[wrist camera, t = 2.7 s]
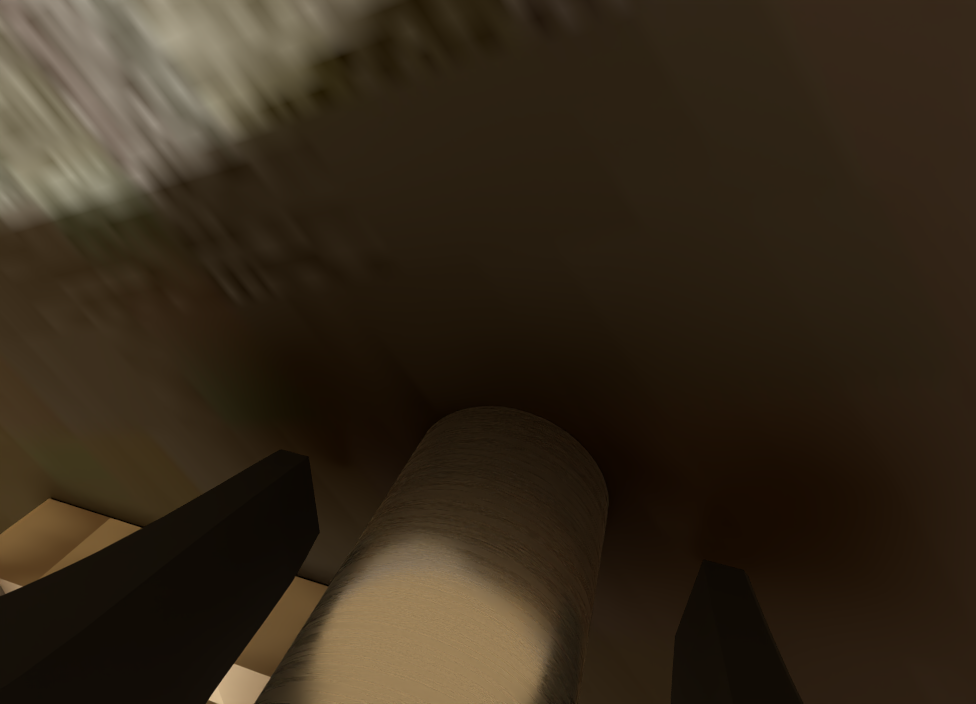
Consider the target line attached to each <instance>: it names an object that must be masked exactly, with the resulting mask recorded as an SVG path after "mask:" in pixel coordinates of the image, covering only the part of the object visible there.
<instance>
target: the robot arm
mask: <svg viewBox="0 0 976 704" xmlns="http://www.w3.org/2000/svg"><path fill="white" fill-rule="evenodd" d="M319 532H320V531H319V524H318V517H317V510H316V504H315V497H314V490H313V483H312V476H311V469H310V463H309V457H308V456H304V455H300V454H296V453H292V452H289V451H285V450H279V451H277V452H275V453H273V454H272V455H270V456H268V457H266V458H264V459H263V460H261V461H259V462H257V463H256V464H254V465H252V466H250V467H249V468H247V469H245V470H244V471H242V472H240V473H238V474H237V475H235V476H233V477H232V478H230V479H228V480H227V481H225V482H223V483H221V484H220V485H218V486H216V487H215V488H213V489H211V490H209V491H208V492H206V493H204V494H202V495H201V496H199V497H197V498H195V499H194V500H192V501H190V502H188V503H187V504H185V505H183V506H181V507H180V508H178V509H176V510H174V511H173V512H171V513H169V514H167V515H166V516H164V517H162V518H160V519H158V520H156V521H155V522H153V523H151V524H149V525H147V526H145V527H143V528H141V529H139V530H137V531H136V532H134V533H132V534H130V535H128V536H126V537H124V538H122V539H120V540H119V541H117V542H115V543H113V544H111V545H109V546H107V547H105V548H103V549H101V550H100V551H98V552H96V553H94V554H92V555H90V556H88V557H85V558H83V559H81V560H79V561H77V562H75V563H73V564H71V565H69V566H67V567H65V568H63V569H60V570H58V571H56V572H54V573H52V574H49V575H47V576H45V577H43V578H40V579H38V580H36V581H34V582H32V583H29V584H27V585H25V586H23V587H20V588H18V589H16V590H13V591H11V592H9V593H6V594H4V595H2V596H0V704H206V703H207V701H208V700H209V698H210V697H211V695H212V694H213V692H214V691H215V689H216V688H217V687H218V685H219V684H220V682H221V681H222V680H223V678H224V677H225V676H226V674H227V673H228V671H229V670H230V669H231V667H232V666H233V664H234V663H235V662H236V660H237V659H238V657H239V656H240V655H241V653H242V652H243V651H244V649H245V648H246V646H247V645H248V644H249V642H250V641H251V639H252V638H253V637H254V635H255V634H256V632H257V631H258V630H259V628H260V627H261V625H262V624H263V623H264V621H265V620H266V619H267V617H268V616H269V614H270V613H271V611H272V610H273V609H274V607H275V606H276V604H277V603H278V602H279V600H280V599H281V597H282V596H283V595H284V593H285V592H286V590H287V589H288V587H289V586H290V584H291V583H292V581H293V580H294V578H295V576H296V575H297V573H298V571H299V569H300V568H301V566H302V564H303V562H304V560H305V559H306V557H307V555H308V553H309V551H310V549H311V547H312V545H313V544H314V542H315V540H316V538H317V536H318V534H319ZM671 704H803V702H802V700H801V698H800V696H799V694H798V692H797V689H796V687H795V685H794V683H793V681H792V679H791V677H790V675H789V672H788V670H787V668H786V666H785V664H784V661H783V659H782V657H781V655H780V652H779V650H778V648H777V646H776V643H775V641H774V639H773V636H772V634H771V632H770V629H769V627H768V625H767V622H766V620H765V618H764V615H763V613H762V610H761V608H760V605H759V603H758V600H757V598H756V595H755V593H754V590H753V588H752V585H751V582H750V580H749V577H748V576H747V574H746V573H745V572H744V570H741V569H737V568H734V567H730V566H726V565H722V564H718V563H714V562H711V561H707V560H703V562H702V565H701V568H700V570H699V573H698V576H697V578H696V581H695V584H694V586H693V589H692V592H691V595H690V597H689V600H688V603H687V605H686V608H685V611H684V614H683V616H682V619H681V622H680V624H679V627H678V630H677V632H676V635H675V645H674V659H673V674H672V691H671Z"/></svg>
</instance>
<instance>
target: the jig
mask: <svg viewBox="0 0 976 704" xmlns="http://www.w3.org/2000/svg"><path fill="white" fill-rule="evenodd" d="M139 529H141V527H138V526H135V525H131V524H128V523H125V522H122V521H119V520H116V519H112V518H109V517H106V516H103V515H100V514H97V513H93V512H90V511H87V510H84V509H81V508H78V507H74V506H71V505H68V504H65V503H62V502H59V501H56V500H52V499H48V500H46V501H45V502H44V503H42V504H41V505H39V506H38V507H37V508H35V509H34V510H33V511H31V512H30V513H29V514H27V515H26V516H25V517H23V518H22V519H21V520H19V521H18V522H16V523H15V524H14V525H12V526H11V527H10V528H8V529H7V530H6V531H4V532H3V533H2V534H0V596H2V595H4V594H6V593H9V592H11V591H13V590H16V589H18V588H20V587H23V586H25V585H27V584H29V583H32V582H34V581H36V580H38V579H40V578H43V577H45V576H47V575H49V574H52V573H54V572H56V571H58V570H60V569H63V568H65V567H67V566H69V565H71V564H73V563H75V562H77V561H79V560H81V559H83V558H85V557H88V556H90V555H92V554H94V553H96V552H98V551H100V550H101V549H103V548H105V547H107V546H109V545H111V544H113V543H115V542H117V541H119V540H120V539H122V538H124V537H126V536H128V535H130V534H132V533H134V532H136V531H137V530H139ZM327 588H328V586H325V585H321V584H318V583H315V582H312V581H309V580H306V579H302V578H299V577H296V576H295V578H294V580H293V581H292V583H291V584H290V586H289V587H288V589H287V590H286V592H285V593H284V595H283V596H282V597H281V599H280V600H279V602H278V603H277V604H276V606H275V607H274V609H273V610H272V611H271V613H270V614H269V616H268V617H267V619H266V620H265V621H264V623H263V624H262V625H261V627H260V628H259V630H258V631H257V632H256V634H255V635H254V637H253V638H252V639H251V641H250V642H249V644H248V645H247V646H246V648H245V649H244V651H243V652H242V653H241V655H240V656H239V657H238V659H237V660H236V662H235V663H234V664H233V666H232V667H231V669H230V670H229V671H228V673H227V674H226V676H225V677H224V678H223V680H222V681H221V682H220V684H219V685H218V687H217V688H216V689H215V691H214V692H213V694H212V695H211V697H210V698H209V700H208V701H207V703H206V704H254V703H255V701H256V700H257V698H258V696H259V695H260V693H261V692H262V690H263V689H264V687H265V685H266V684H267V682H268V681H269V679H270V678H271V676H272V674H273V673H274V671H275V670H276V668H277V667H278V665H279V663H280V662H281V660H282V659H283V657H284V656H285V654H286V652H287V651H288V649H289V648H290V646H291V645H292V643H293V641H294V640H295V638H296V637H297V635H298V634H299V632H300V630H301V629H302V627H303V626H304V624H305V623H306V621H307V619H308V618H309V616H310V615H311V613H312V612H313V610H314V608H315V607H316V605H317V604H318V602H319V601H320V599H321V597H322V596H323V594H324V593H325V591H326V590H327Z"/></svg>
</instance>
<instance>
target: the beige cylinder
mask: <svg viewBox="0 0 976 704" xmlns="http://www.w3.org/2000/svg"><path fill="white" fill-rule="evenodd" d="M608 507H609V498H608V490H607V485H606V482H605V479H604V477H603V474H602V472H601V470H600V468H599V466H598V465H597V463H596V461H595V460H594V458H593V457H592V456H591V455H590V453H589V452H588V451H587V450H586V449H585V448H584V446H583V445H582V444H581V443H580V442H579V441H578V440H576V439H575V438H574V437H573V436H571V435H570V434H569V433H568V432H566V431H565V430H563V429H562V428H560V427H559V426H557V425H556V424H554V423H552V422H550V421H548V420H546V419H544V418H542V417H539V416H537V415H534V414H532V413H529V412H525V411H522V410H518V409H514V408H508V407H501V406H479V407H471V408H466V409H462V410H459V411H456V412H453V413H451V414H449V415H447V416H445V417H443V418H442V419H440V420H439V421H438V422H436V423H435V424H434V425H433V426H432V427H431V428H430V429H429V430H428V431H427V433H426V434H425V436H424V437H423V439H422V440H421V442H420V443H419V445H418V446H417V448H416V450H415V451H414V453H413V454H412V456H411V457H410V459H409V461H408V462H407V464H406V465H405V467H404V468H403V470H402V472H401V473H400V475H399V476H398V478H397V479H396V481H395V483H394V484H393V486H392V487H391V489H390V490H389V492H388V494H387V495H386V497H385V498H384V500H383V502H382V503H381V505H380V506H379V508H378V509H377V511H376V513H375V514H374V516H373V517H372V519H371V520H370V522H369V524H368V525H367V527H366V528H365V530H364V531H363V533H362V535H361V536H360V538H359V539H358V541H357V542H356V544H355V546H354V547H353V549H352V550H351V552H350V553H349V555H348V557H347V558H346V560H345V561H344V563H343V564H342V566H341V568H340V569H339V571H338V572H337V574H336V575H335V577H334V579H333V580H332V582H331V583H330V585H329V586H328V588H327V590H326V591H325V593H324V594H323V596H322V597H321V599H320V601H319V602H318V604H317V605H316V607H315V608H314V610H313V612H312V613H311V615H310V616H309V618H308V619H307V621H306V623H305V624H304V626H303V627H302V629H301V630H300V632H299V634H298V635H297V637H296V638H295V640H294V641H293V643H292V645H291V646H290V648H289V649H288V651H287V652H286V654H285V656H284V657H283V659H282V660H281V662H280V663H279V665H278V667H277V668H276V670H275V671H274V673H273V674H272V676H271V678H270V679H269V681H268V682H267V684H266V685H265V687H264V689H263V690H262V692H261V693H260V695H259V696H258V698H257V700H256V701H255V703H254V704H578V703H579V697H580V690H581V683H582V677H583V670H584V664H585V657H586V651H587V644H588V638H589V631H590V625H591V618H592V612H593V605H594V599H595V592H596V586H597V579H598V573H599V566H600V560H601V553H602V547H603V540H604V534H605V527H606V521H607V514H608Z"/></svg>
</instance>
